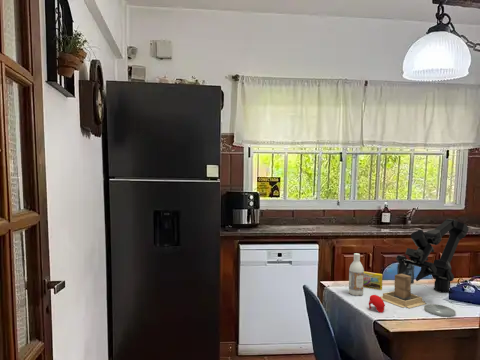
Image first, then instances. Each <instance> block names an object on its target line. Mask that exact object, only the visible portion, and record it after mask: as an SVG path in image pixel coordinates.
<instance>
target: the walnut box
mask: <svg viewBox="0 0 480 360" xmlns="http://www.w3.org/2000/svg"><path fill="white" fill-rule="evenodd" d="M411 287H412V283H411V276H408V275H405V274H397V273H396V274H394V289H393V291H394V297H396V298H399V299H401V300H404V301H407V300H411V294H412V293H411V292H412V291H411V290H412V289H411Z"/></svg>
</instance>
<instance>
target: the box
mask: <svg viewBox="0 0 480 360" xmlns="http://www.w3.org/2000/svg"><path fill="white" fill-rule="evenodd" d="M396 271H397V272H396V275H397V274H398V273H399V263H397V270H396ZM403 274H405V275H408V276H411V284H414V283H415V266H414V265H410V264H409V265H408V266H407V269H406V270H405V271H404V272H403Z"/></svg>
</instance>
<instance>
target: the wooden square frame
mask: <svg viewBox="0 0 480 360" xmlns="http://www.w3.org/2000/svg"><path fill="white" fill-rule="evenodd" d="M379 297H380V298H381V299H382V300H383V302H386V303H389V304H392V305H395V306H397V307H400V308H403V309H404V308H406V309H407V308H408V309H413V308H417V307H420V306H425V305H427V302H425V300H423V297H422V296H420V295H416V294H413V293H411V300H407V301H404V300H401V299H399V298H396V297H394V290H393V291H389V292H383V293H382V295H381V296H379Z"/></svg>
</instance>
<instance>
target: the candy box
mask: <svg viewBox="0 0 480 360" xmlns="http://www.w3.org/2000/svg"><path fill="white" fill-rule="evenodd" d="M363 288H366V289H372V290H373V289H374V290H378V291H382V290H383V274H382V273H376V272H370V271H365V270H364V287H363Z"/></svg>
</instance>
